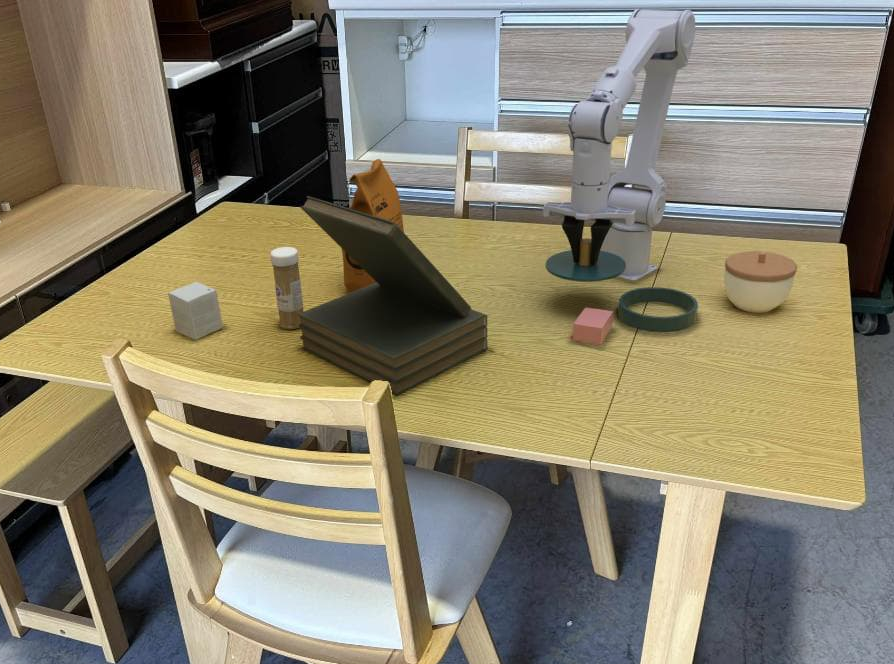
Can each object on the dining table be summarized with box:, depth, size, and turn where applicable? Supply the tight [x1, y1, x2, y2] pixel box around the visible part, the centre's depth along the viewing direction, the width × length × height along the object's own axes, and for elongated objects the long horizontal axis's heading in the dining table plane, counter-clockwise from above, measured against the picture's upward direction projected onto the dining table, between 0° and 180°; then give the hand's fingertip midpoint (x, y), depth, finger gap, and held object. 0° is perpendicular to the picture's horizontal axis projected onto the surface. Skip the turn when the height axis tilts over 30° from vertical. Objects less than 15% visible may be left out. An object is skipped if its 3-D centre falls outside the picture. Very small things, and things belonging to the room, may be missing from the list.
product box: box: [167, 281, 224, 341], centre depth 148 cm, size 6×6×7 cm
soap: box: [572, 307, 614, 345], centre depth 138 cm, size 4×6×3 cm
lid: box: [545, 237, 626, 283], centre depth 143 cm, size 13×13×5 cm
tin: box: [617, 286, 699, 333], centre depth 142 cm, size 12×12×3 cm
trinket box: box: [723, 250, 798, 314], centre depth 142 cm, size 11×11×9 cm
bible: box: [298, 195, 488, 397], centre depth 133 cm, size 23×20×25 cm
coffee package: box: [341, 158, 405, 293], centre depth 157 cm, size 10×12×22 cm
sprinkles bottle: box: [270, 246, 304, 330], centre depth 146 cm, size 5×5×14 cm
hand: (585, 261), depth 144 cm, fingers closed on lid, 2 cm apart
